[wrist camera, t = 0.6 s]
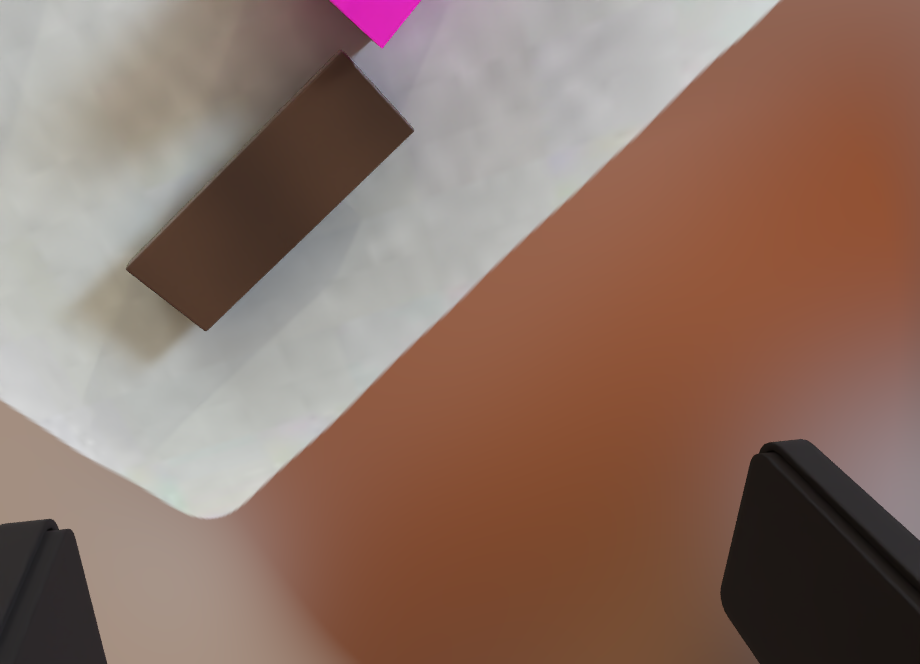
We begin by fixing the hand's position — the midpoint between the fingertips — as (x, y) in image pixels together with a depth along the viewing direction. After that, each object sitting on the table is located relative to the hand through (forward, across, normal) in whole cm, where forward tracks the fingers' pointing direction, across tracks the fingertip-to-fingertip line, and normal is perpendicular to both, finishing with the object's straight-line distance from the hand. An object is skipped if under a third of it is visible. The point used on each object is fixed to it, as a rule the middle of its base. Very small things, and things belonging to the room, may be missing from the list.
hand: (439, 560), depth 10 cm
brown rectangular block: (+32, +3, +3) cm, 32 cm away
